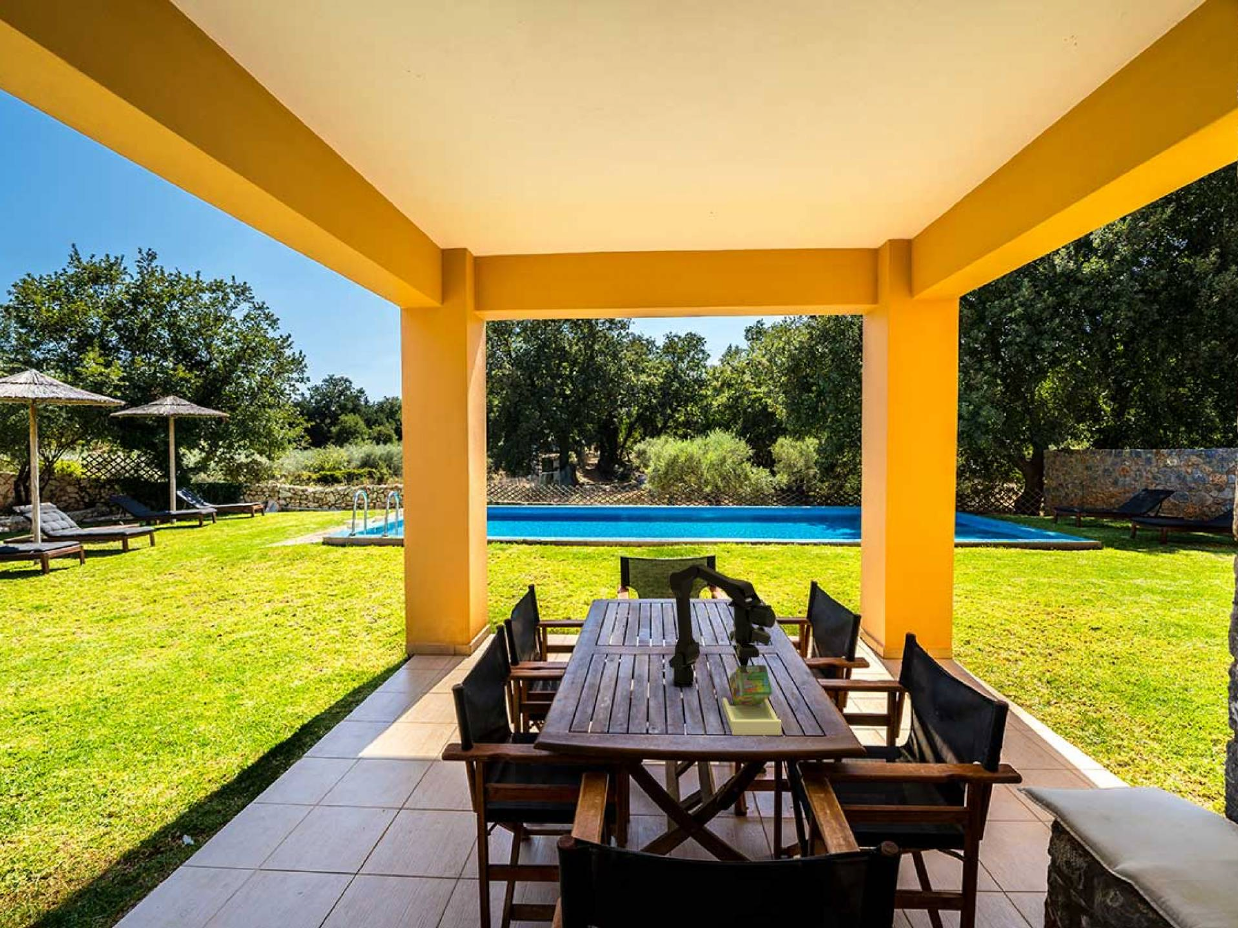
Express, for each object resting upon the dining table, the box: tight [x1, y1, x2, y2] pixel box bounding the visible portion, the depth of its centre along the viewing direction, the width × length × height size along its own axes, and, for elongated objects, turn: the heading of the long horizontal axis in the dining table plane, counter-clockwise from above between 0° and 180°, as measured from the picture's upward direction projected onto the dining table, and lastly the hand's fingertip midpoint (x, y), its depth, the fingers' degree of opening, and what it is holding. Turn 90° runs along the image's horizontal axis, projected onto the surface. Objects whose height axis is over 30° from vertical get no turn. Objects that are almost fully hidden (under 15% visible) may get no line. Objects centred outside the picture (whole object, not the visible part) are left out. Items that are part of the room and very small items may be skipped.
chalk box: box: [728, 664, 773, 706], centre depth 185 cm, size 9×9×15 cm
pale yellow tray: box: [722, 697, 782, 736], centre depth 179 cm, size 14×18×4 cm
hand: (744, 670), depth 188 cm, fingers closed
